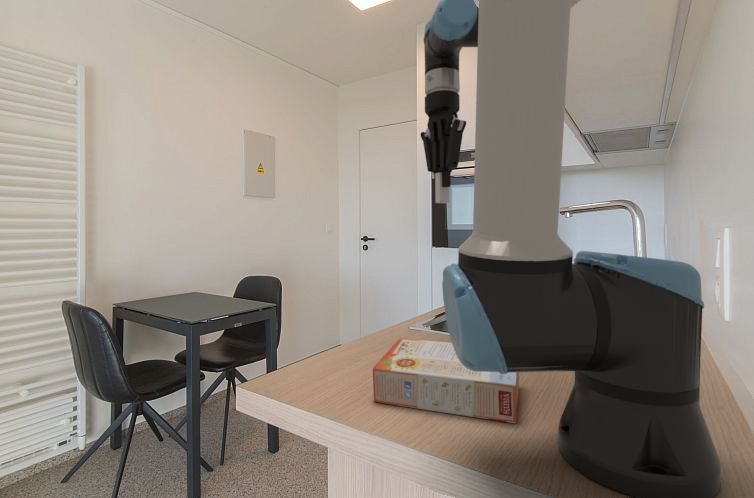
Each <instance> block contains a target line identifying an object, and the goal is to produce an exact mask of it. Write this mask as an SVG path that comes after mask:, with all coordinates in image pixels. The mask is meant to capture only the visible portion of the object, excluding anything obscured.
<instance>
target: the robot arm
mask: <svg viewBox="0 0 754 498" xmlns="http://www.w3.org/2000/svg"><path fill="white" fill-rule="evenodd" d="M477 1H478V2H479V8H478V7H477V6H476V4H475V2H476V1H475V2H474V0H439V2H438V3H437V4H436V7H435V11H434V12H433V15H432V17H431V19H430V20H428V21H427V22H426V23H425V26H424V36H423V47H424V95H425V97H424V113H425V114H426V115H427V116H428V121H427V128H426V130H425V131H421V132H420V138H421V140H422V142H423V143H422V144H423V148H424V149H423V151H424V155H425V161H426V167H427V171H428V173H430V172H431V173H432V174H433V177H434V179H433V180H434V183H433V184H434V189H435V204H450V187H451V185H452V182H451V181H452V179H451V178H452V177H451V176H452V175H451V174H452V172H453V170H455V169H457V168H458V166H459V159H460V154H461V148H462V147H461V146H462V141H463V134H464V131H465V128H466V126H467V121H466V120H462V119H460V118H459V116H458V113H459V111H460V94H459V93H460V90H461V89H460V88H461V86H460V82H461V81H460V52H461V50H462V49H463V48H477V57H476V58H477V61H476V63H477V65H476V66H477V67H476V93H475V94H476V96H475V97H476V102H475V104H476V105H475V106H476V107H475V133H474V134H475V135H474V138H475V141H474V171H473V172H474V173H473V174H474V175H473V177H474V179H473V180H474V181H473V214H472V215H473V217H472V221H473V222H472V233H471V234H470V235H469V237H468V238H466V240H465V241H463V243H461V244H460V245H459V247H458V259H457V260H458V261H457V263H451V264H450V265H447V266H445V268H444V269H443V271H442V283H441V284H442V299H443V305H444V306H443V307H444V312H445V320H446V323H447V329H448V332H449V338H450V341H451V343H452V344H453V347H454V350H455V353H456V355H457V357H458V359H459V360H460V362H461V363H462V364H463V365H464V366H465V367H466V368H468V369H470V370H472V371H482V372H500V373H501V374H507V372H519V373H540V372H542V373H543V372H545V373H546V372H548V373H549V372H574V382H573V383H574V384H573V386H572V389H571V391H570V394H569V396H568V399H567V401H566V404H565V407H564V409H563V411H562V414H561V417H560V419H559V421H558V426H557V427H558V428H557V446H558V449H559V453H560V455H562V457H563V458H564V459H565V460H566V461H567V463H569V465H571V467H573V469H575V470H577V471H578V472H579V473H581V474H582V475H584V476H586V477H588V478H590V479H591V480H593V481H594V482H596V483H598V484H600V485H603V486H604V487H608V488H609V489H612V490H613V491H617V492H620V493H622V494H626V495H629V496H631V497H632V496H633V497H635V498H714V497H715V496H717V495H718V494H719V492H720V489H721V461H720V458H719V455H718V452H717V450H716V447H715V445H714V441H713V439H712V436H711V433H710V431H709V428H708V425H707V422H706V420H705V416H704V415H703V414H704V413H703V411H702V408H701V405H700V397H701V395H700V392H701V390H700V389H701V388H700V387H701V385H700V384H701V351H702V350H701V349H702V330H703V329H702V327H703V309H704V308H705V303H704V301H703V299H702V279H701V275H700V273H699V271H698V270H697V269H696V268H695V267H694V266H693V265H691V264H690V263H687V262H683V261H677V260H670V259H669V260H668V259H663V258H655V257H654V258H653V257H645V256H635V255H626V254H617V253H609V252H608V253H607V252H600V251H599V252H598V251H589V250H588V251H587V250H580V251H578V252H577V253H576V254H575V258H573V257H574V254H573V253H574V251H573V250H572V249H571V248H570V246H568V245H567V244H566V242H565V241H563V240H562V239H561V237H560V235H559V230H558V229H559V219H560V218H559V216H560V214H559V213H560V199H561V198H560V196H561V184H562V183H561V181H562V180H561V179H562V163H563V149H564V148H563V145H564V144H563V143H564V130H565V128H564V127H565V126H564V125H565V111H566V110H565V108H566V93H567V92H566V91H567V76H568V75H567V74H568V60H569V59H568V57H569V44H570V43H569V42H570V40H569V39H570V38H569V37H570V26H571V25H570V23H571V22H570V21H571V9H572V8H573V7H574V6H575V5H577V4H578V3H580V2H581V1H582V0H477ZM573 261H574V262H573Z"/></svg>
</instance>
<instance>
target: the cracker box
mask: <svg viewBox="0 0 754 498" xmlns="http://www.w3.org/2000/svg"><path fill="white" fill-rule="evenodd" d="M372 378H373V379H372V382H373V402H374V403H380V404H386V405H393V406H399V407H405V408H410V409H411V408H412V409H418V410H424V411H430V412H431V411H432V412H438V413H445V414H450V415H451V414H452V415H458V416H463V417H464V416H465V417H471V418H477V419H484V420H490V421H496V422H503V423H508V424H509V423H510V424H517V419H518V403H519V402H518V401H519V390H520V389H519V387H520V372H507V374H501V373H500V372H482V371H472V370H470V369H468V368H466V367H465V366H464V365H463V364H462V363H461V362H460V360H459V359H458V357H457V355H456V353H455V350H454V347H453V344H452V342H448V341H447V342H446V341H445V342H444V341H434V340H425V339H424V340H423V339H414V338H413V339H410V338H404V337H403V338H402V337H401V338H398V339H397V341H396V342H395V343H394V344H393V345H392V346H391V347H390V349H389V350H388V351H387V352H386V353H385V354H384V355H383V356H382V357H381V358H380V360H379V361H378V362H377V363H376V364H375V365H374V366H373V367H372Z"/></svg>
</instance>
